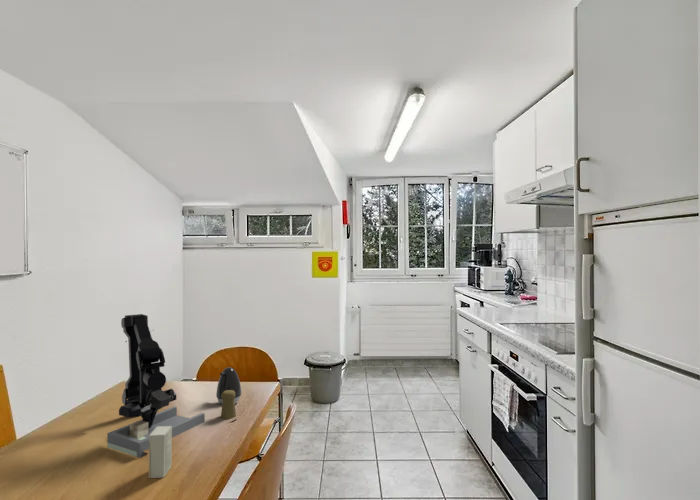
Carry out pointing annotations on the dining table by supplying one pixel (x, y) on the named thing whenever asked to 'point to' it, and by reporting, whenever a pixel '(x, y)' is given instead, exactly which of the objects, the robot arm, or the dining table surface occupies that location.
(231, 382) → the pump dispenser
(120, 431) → the box
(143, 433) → the birch block
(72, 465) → the dining table surface
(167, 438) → the skincare box
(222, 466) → the dining table surface
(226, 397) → the cork
